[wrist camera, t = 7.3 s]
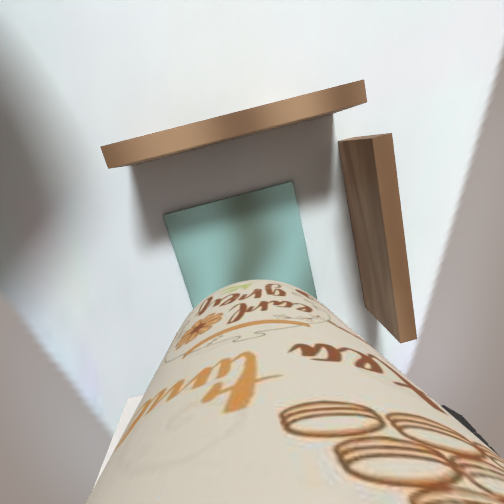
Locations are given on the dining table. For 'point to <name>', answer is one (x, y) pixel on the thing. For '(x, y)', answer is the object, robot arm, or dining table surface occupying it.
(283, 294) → the mug
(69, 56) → the dining table surface
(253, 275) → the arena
